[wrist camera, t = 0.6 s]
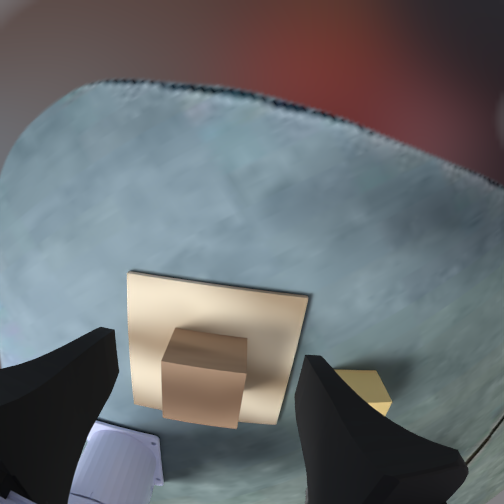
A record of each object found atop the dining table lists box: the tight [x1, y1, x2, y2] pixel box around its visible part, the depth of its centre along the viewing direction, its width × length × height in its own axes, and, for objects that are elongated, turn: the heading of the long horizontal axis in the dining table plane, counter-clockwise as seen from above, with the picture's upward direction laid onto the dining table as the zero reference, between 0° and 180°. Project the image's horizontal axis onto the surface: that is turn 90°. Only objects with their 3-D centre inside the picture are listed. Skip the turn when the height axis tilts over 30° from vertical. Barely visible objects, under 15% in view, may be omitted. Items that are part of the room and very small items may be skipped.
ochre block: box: [334, 369, 392, 416], centre depth 22 cm, size 4×4×4 cm
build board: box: [127, 271, 308, 425], centre depth 22 cm, size 12×12×1 cm
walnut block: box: [161, 328, 248, 429], centre depth 20 cm, size 5×5×4 cm
